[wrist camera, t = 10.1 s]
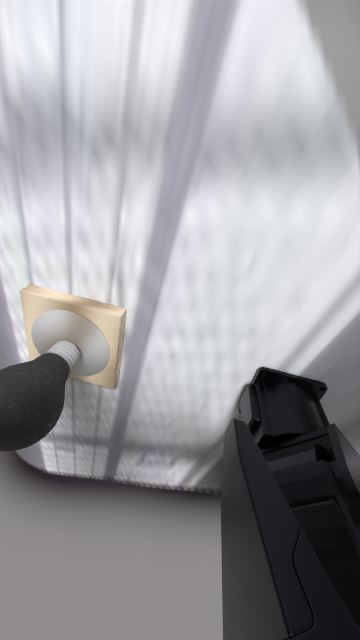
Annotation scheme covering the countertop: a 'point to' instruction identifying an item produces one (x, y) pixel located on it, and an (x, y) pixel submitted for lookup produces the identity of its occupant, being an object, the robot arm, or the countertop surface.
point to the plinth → (75, 331)
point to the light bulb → (34, 396)
